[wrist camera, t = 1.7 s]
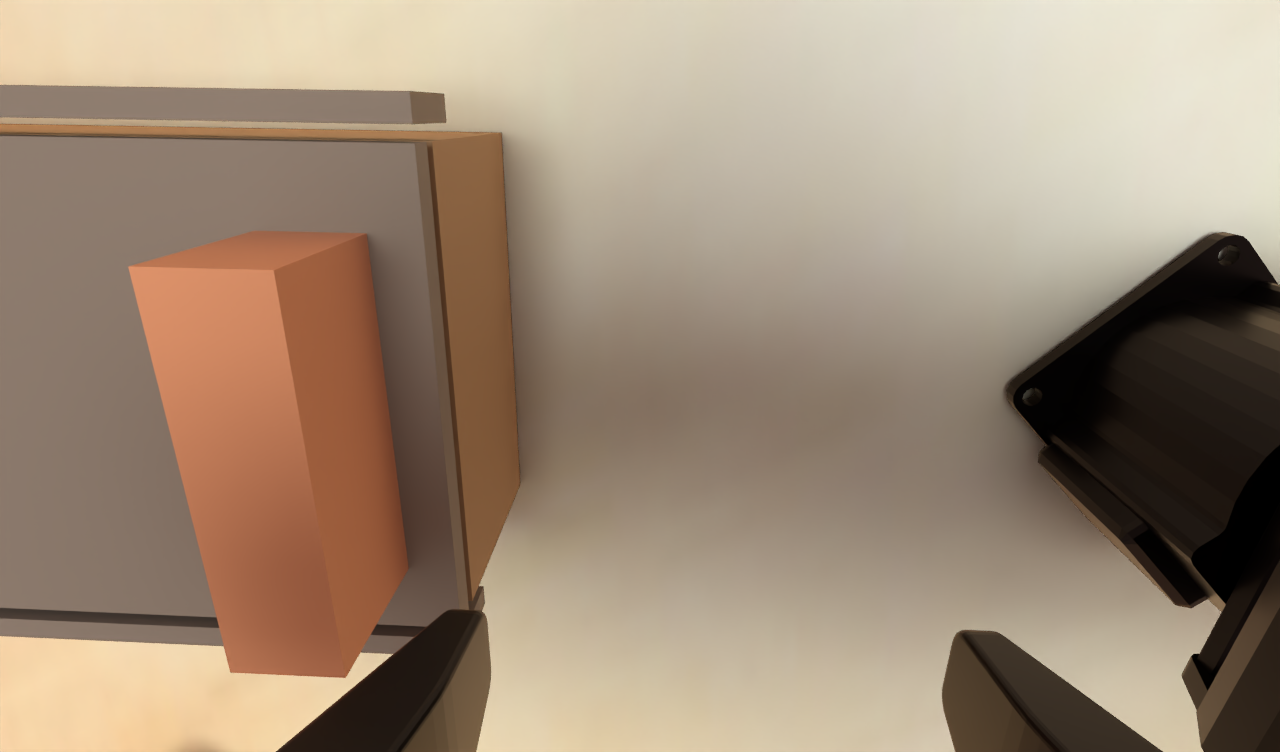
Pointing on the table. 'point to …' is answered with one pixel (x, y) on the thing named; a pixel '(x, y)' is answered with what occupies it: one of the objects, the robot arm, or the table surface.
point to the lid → (224, 380)
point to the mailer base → (468, 299)
